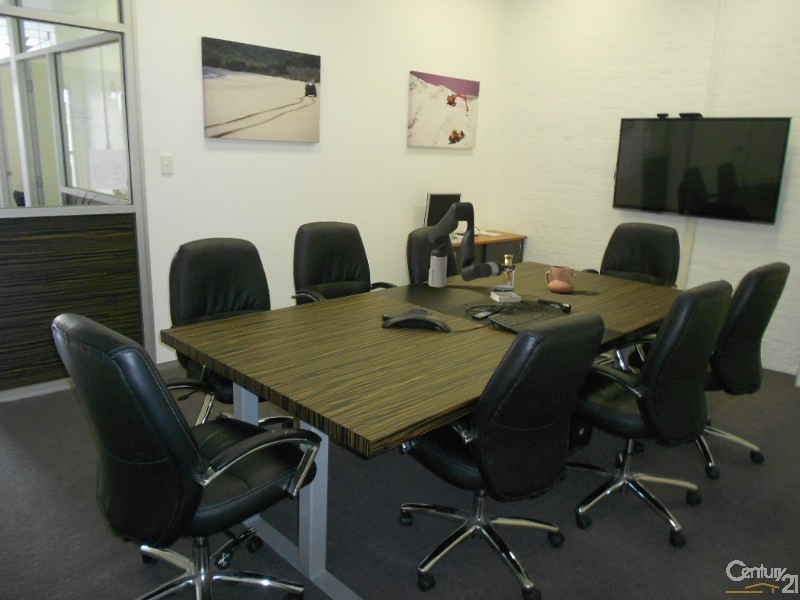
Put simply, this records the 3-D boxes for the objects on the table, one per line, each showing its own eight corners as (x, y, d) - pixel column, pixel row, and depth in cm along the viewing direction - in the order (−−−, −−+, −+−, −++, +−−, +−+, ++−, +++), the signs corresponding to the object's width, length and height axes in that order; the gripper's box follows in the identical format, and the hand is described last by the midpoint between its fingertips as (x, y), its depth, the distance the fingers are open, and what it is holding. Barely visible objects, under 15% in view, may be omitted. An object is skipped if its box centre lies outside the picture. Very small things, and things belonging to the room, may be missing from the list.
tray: (498, 302, 300) (498, 297, 299) (490, 297, 311) (490, 292, 311) (520, 302, 302) (521, 296, 301) (512, 296, 314) (512, 291, 313)
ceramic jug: (580, 292, 332) (582, 267, 329) (570, 295, 320) (572, 269, 318) (549, 288, 342) (551, 263, 340) (539, 291, 331) (541, 266, 328)
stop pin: (504, 281, 302) (506, 255, 299) (501, 279, 306) (502, 254, 303) (512, 281, 302) (514, 256, 300) (509, 279, 307) (511, 254, 304)
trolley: (497, 296, 313) (499, 271, 310) (492, 293, 320) (494, 269, 317) (514, 296, 315) (516, 271, 312) (509, 293, 322) (511, 269, 319)
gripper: (504, 263, 287) (523, 260, 299) (480, 260, 297) (500, 257, 309) (503, 279, 289) (522, 275, 301) (479, 274, 298) (499, 271, 310)
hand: (510, 266), depth 305 cm, fingers closed on stop pin, 3 cm apart
